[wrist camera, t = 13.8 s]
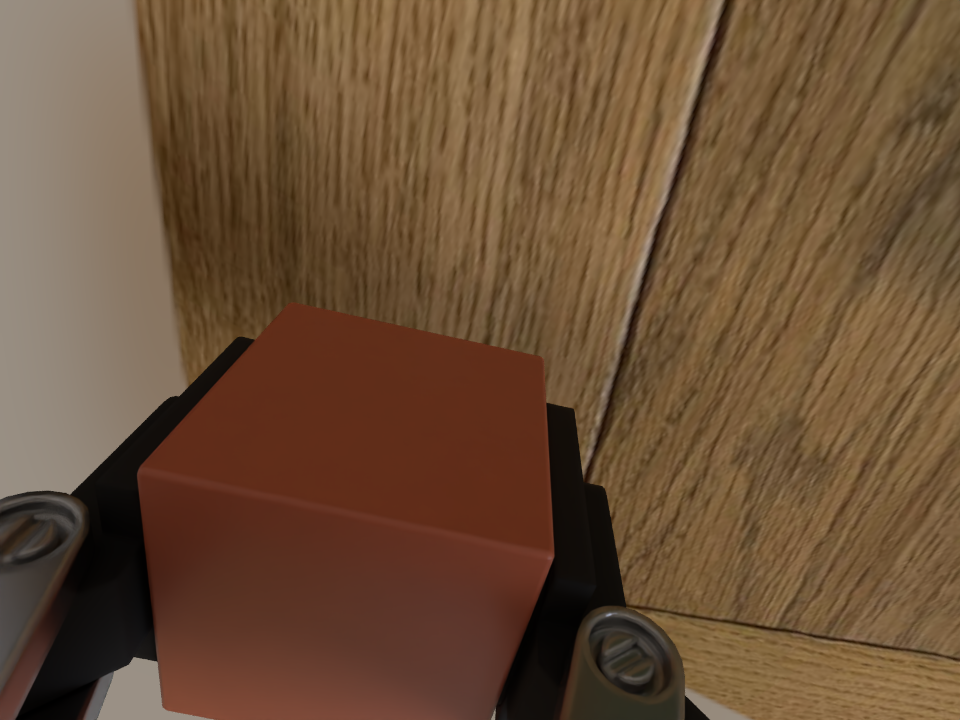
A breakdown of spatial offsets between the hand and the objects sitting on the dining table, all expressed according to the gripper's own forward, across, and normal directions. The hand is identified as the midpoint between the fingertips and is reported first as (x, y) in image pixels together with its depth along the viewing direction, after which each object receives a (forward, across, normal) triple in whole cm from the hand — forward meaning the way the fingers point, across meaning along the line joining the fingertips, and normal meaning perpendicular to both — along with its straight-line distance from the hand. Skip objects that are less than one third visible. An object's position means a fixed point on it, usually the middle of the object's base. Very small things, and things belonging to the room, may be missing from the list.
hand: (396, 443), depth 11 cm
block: (0, 0, 0) cm, 0 cm away
